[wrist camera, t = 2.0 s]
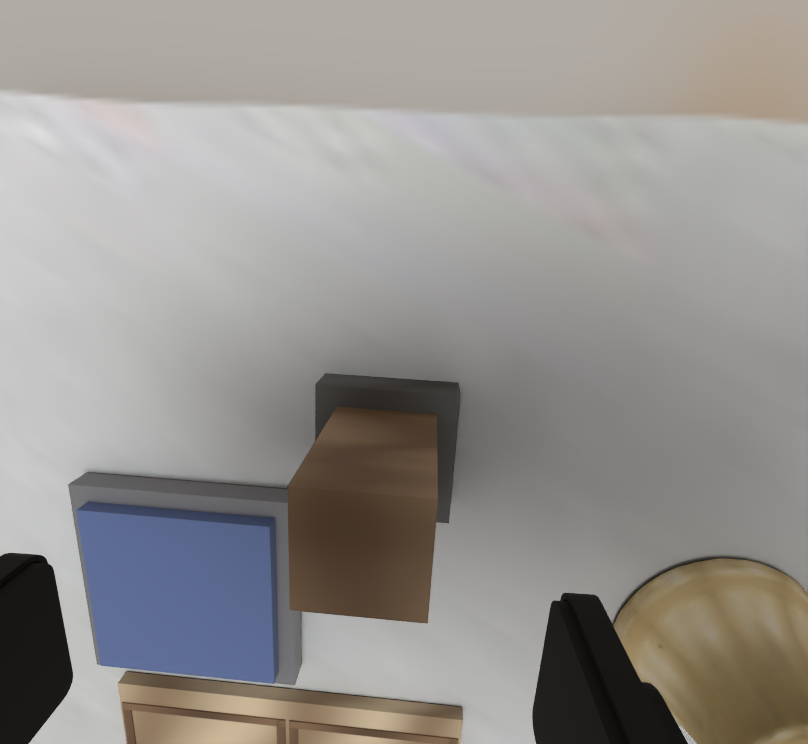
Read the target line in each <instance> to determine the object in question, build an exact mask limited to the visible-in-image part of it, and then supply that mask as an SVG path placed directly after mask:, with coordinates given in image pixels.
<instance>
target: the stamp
mask: <svg viewBox="0 0 808 744" xmlns="http://www.w3.org/2000/svg"><path fill="white" fill-rule="evenodd" d="M459 406H460V389H459V384H458V383H454V382H440V381H426V380H412V379H397V378H383V377H369V376H355V375H341V374H327V373H325V375H324V376H323V377H322V378H321V379H320V380H319V381H318V383H317V384H316V441H315V443H314V444H313V446H312V448H311V449H310V451H309V452H308V454H307V456H306V457H305V459H304V461H303V462H302V464H301V465H300V467H299V469H298V470H297V472H296V474H295V475H294V477H293V478H292V480H291V482H290V483H289V485H288V487H287V488H288V548H289V607H290V610H293V611H304V612H314V613H324V614H335V615H345V616H355V617H366V618H376V619H386V620H397V621H407V622H418V623H428V612H429V600H430V588H431V576H432V565H433V553H434V541H435V529H436V522H441V523H449V514H450V504H451V493H452V482H453V471H454V460H455V449H456V438H457V428H458V417H459Z"/></svg>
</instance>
